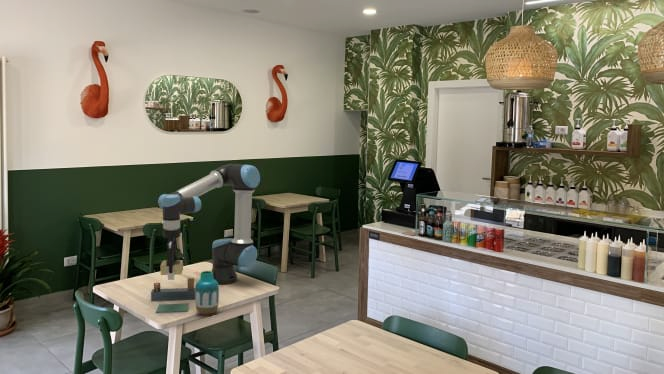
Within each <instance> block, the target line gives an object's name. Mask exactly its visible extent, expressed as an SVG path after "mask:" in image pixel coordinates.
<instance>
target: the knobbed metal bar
mask: <svg viewBox="0 0 664 374" xmlns="http://www.w3.org/2000/svg"><path fill="white" fill-rule="evenodd" d="M186 282H187V287H177V288H176V287H175V288H161V282H154V283H153V289H151V291H150V301H151V302H167V301H169V302H170V301H171V302H173V301H193V300H194V301H195V278H194V277H187V281H186Z"/></svg>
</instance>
